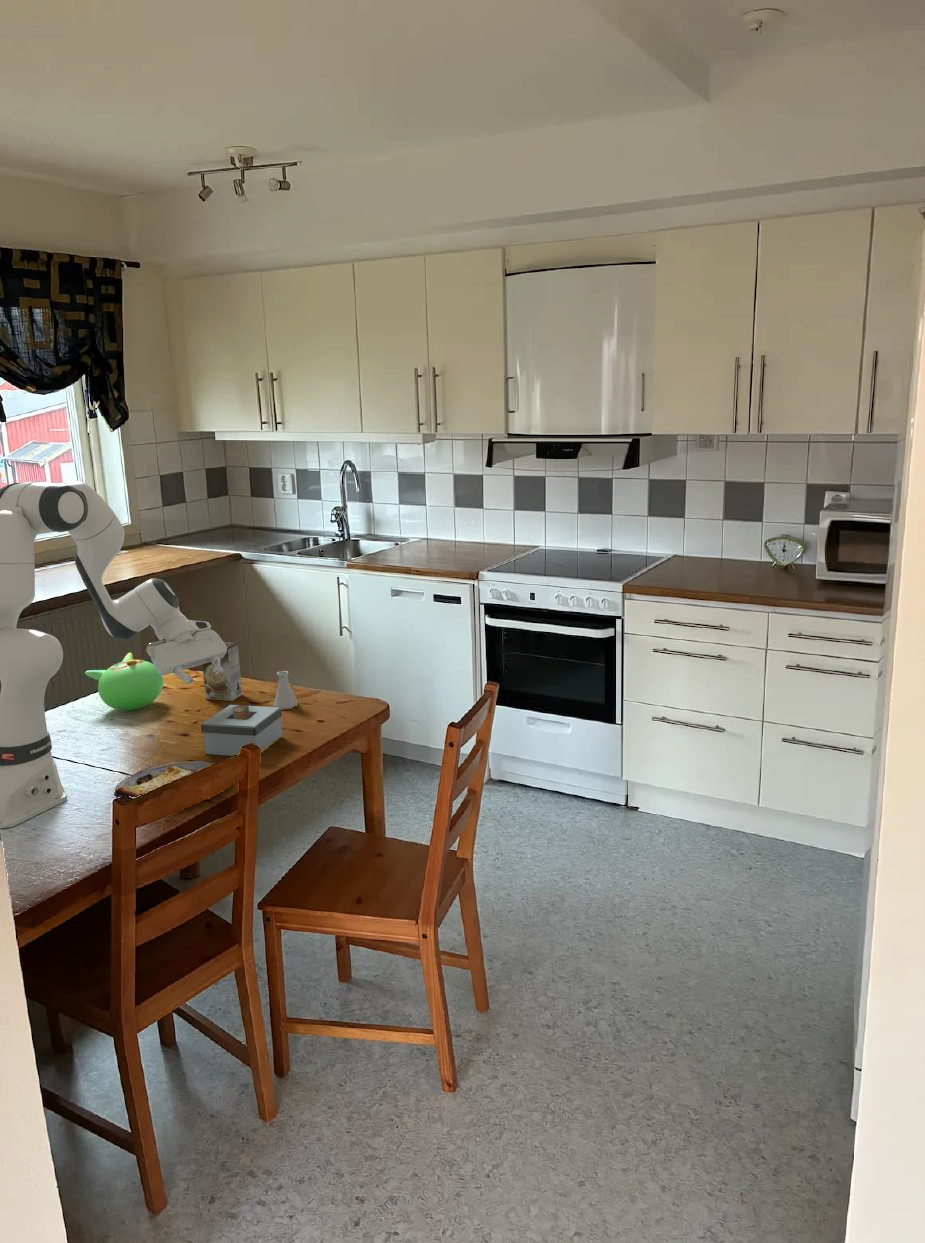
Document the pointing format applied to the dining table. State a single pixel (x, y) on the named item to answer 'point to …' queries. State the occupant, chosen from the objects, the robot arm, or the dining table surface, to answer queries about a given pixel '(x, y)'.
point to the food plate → (156, 777)
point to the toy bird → (128, 684)
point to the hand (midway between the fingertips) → (205, 677)
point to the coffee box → (224, 676)
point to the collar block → (241, 730)
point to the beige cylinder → (241, 712)
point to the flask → (284, 693)
